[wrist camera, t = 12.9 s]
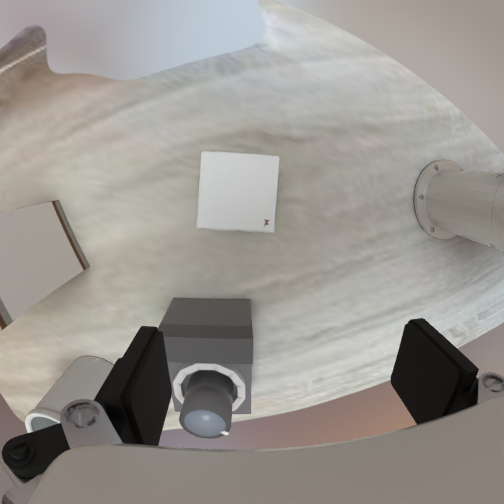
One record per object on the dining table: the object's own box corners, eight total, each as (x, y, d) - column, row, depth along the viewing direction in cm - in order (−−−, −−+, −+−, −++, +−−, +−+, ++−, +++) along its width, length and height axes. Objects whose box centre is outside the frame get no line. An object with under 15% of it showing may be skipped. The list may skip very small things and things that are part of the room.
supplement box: (270, 161, 38) (283, 155, 25) (265, 217, 39) (275, 236, 27) (213, 157, 37) (200, 149, 25) (209, 213, 39) (194, 230, 27)
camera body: (249, 298, 42) (252, 338, 32) (249, 380, 46) (251, 428, 35) (173, 298, 42) (154, 336, 31) (183, 379, 46) (171, 425, 35)
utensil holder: (59, 380, 46) (19, 436, 29) (81, 336, 43) (30, 398, 26) (119, 422, 48) (93, 486, 32) (150, 386, 46) (123, 461, 29)
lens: (202, 361, 35) (194, 399, 29) (243, 383, 36) (242, 422, 29) (181, 388, 37) (170, 425, 30) (219, 408, 38) (215, 445, 31)
